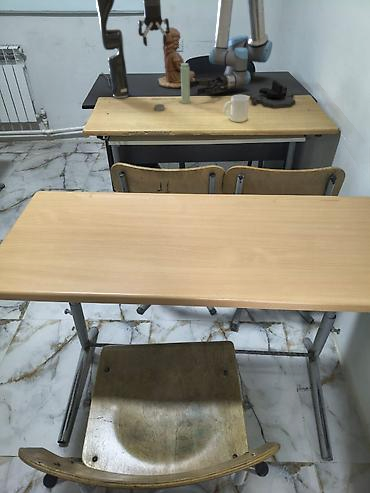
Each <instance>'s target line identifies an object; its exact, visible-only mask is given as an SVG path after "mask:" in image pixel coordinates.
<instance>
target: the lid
mask: <svg viewBox="0 0 370 493" xmlns="http://www.w3.org/2000/svg"><path fill="white" fill-rule="evenodd" d="M164 110H165V105H164V104H162V103H158V104H154V111H157V112H162V111H164Z"/></svg>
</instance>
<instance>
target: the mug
mask: <svg viewBox="0 0 370 493" xmlns="http://www.w3.org/2000/svg"><path fill="white" fill-rule="evenodd" d="M249 104H250V96H248V95H246V94H233V95H232V96H231V99H230V100H229V101H227V102H225V104H224V106H223V109H222V110H223V114H224V115H225V116H226V117H228V118H229V119H230V120H231V121H232V122H235V123H242V122H246V121H247V120H248V118H249V116H248V115H249ZM228 106H230V113H228V111H227V108H228Z"/></svg>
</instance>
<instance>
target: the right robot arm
mask: <svg viewBox="0 0 370 493" xmlns="http://www.w3.org/2000/svg"><path fill="white" fill-rule="evenodd" d="M264 3H265V2H264V0H246V9H247V17H248V18H247V19H248V31H249V35H247V34H244V35H236V36H231V37H230V31H231V25H232V24H231V23H232V14H233V6H234V0H218V6H217V16H216V27H215V30H216V31H215V37H214V38H215V40H214V47H213V48H214V49H213V48H212V49H211V50H210V52H209V56H208V60H209V63H210V64H212V65H215V66H224V67H225V70H224V73H223V74H221V75H220V74H219V75H217V77H216V79H215V78H212V77H211V78H194V79H195V81H191V82H190V88H194V87H195V88H196V87H197V86H204V87H199V88H197V95H198V96H199V95H203V94H208V93H212V94H216V93H217V92H220V91H224V90H230V89H234V88H239V87H244V86H247V85H249V84H250V83H251V80H252V79H251V78H252V76H251V72H250V71H249V70H248V62H253V63H259V64H260V63H261V64H263V63H264V64H265V63H266V62H268V60H269V58H270V57H271V54H272V50H273V41H272V40H269V36H268V34H267V33H266V23H265V4H264Z"/></svg>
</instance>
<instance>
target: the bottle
mask: <svg viewBox="0 0 370 493" xmlns="http://www.w3.org/2000/svg"><path fill="white" fill-rule="evenodd" d="M189 71H190V65H189V63H188V62H184V63H182V64H181V87H180V89H181V90H180V91H181V94H180V95H181V104H187V105H188V104H190V103H191V89H190V88H191V87H190V74H189Z"/></svg>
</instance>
